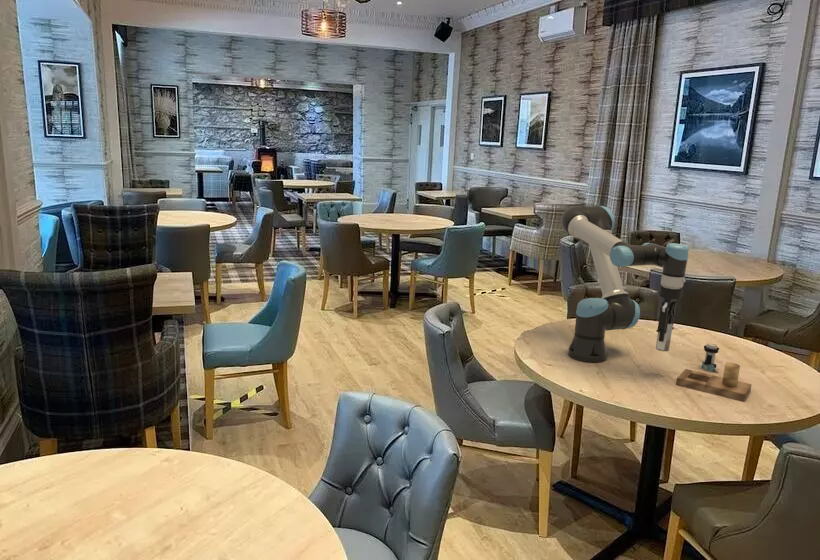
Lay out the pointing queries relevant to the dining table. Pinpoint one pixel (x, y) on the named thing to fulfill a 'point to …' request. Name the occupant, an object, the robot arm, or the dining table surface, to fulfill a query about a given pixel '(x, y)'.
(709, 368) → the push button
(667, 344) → the tan grey cylinder
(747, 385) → the jig
